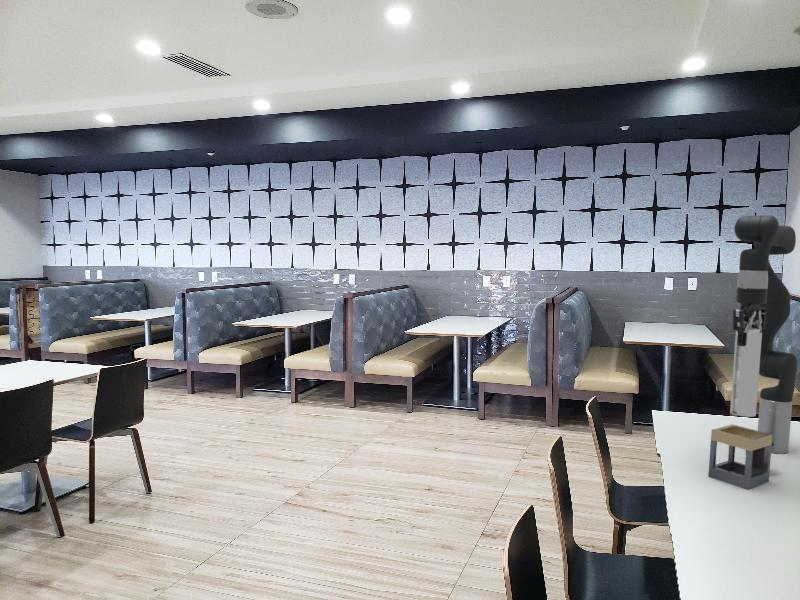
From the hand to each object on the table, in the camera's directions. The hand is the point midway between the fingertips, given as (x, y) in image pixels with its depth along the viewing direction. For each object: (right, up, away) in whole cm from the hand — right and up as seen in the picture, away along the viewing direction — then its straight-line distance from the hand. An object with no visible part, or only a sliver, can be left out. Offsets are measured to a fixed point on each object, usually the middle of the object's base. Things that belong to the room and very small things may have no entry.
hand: (748, 344), depth 175 cm
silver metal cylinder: (0, -20, +2) cm, 20 cm away
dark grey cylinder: (+9, -39, +11) cm, 42 cm away
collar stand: (-1, -39, +3) cm, 40 cm away
